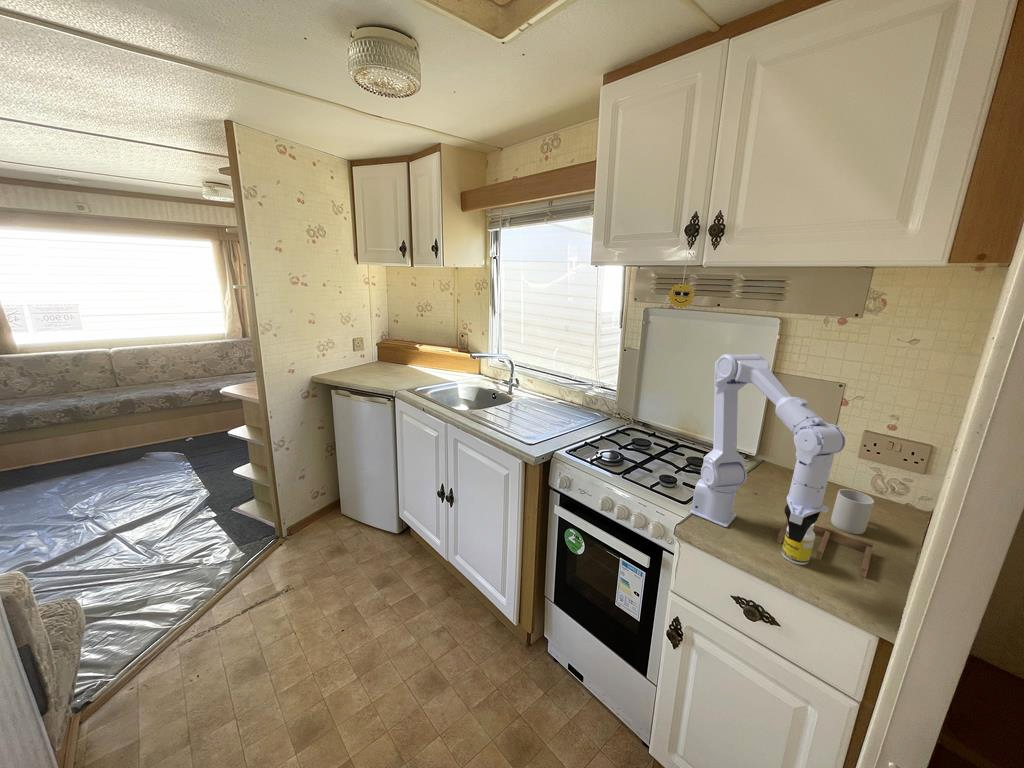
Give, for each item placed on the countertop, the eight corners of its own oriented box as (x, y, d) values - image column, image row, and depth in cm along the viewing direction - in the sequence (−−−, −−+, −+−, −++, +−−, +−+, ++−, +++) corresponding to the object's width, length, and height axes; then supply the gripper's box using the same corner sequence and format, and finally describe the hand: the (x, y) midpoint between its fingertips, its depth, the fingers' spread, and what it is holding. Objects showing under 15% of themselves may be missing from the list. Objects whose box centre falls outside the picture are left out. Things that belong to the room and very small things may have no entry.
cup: (828, 526, 109) (837, 496, 107) (832, 511, 116) (840, 482, 114) (864, 538, 105) (873, 507, 102) (865, 521, 112) (874, 492, 109)
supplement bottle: (775, 550, 99) (783, 514, 96) (796, 549, 99) (805, 513, 97) (792, 566, 94) (802, 528, 91) (814, 565, 94) (824, 527, 92)
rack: (776, 542, 102) (778, 533, 101) (787, 522, 110) (789, 514, 110) (865, 577, 91) (868, 568, 90) (870, 552, 99) (873, 543, 98)
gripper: (827, 502, 77) (811, 564, 81) (838, 477, 87) (824, 533, 91) (783, 488, 82) (770, 547, 86) (799, 465, 92) (786, 519, 96)
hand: (795, 539), depth 89 cm, fingers closed
